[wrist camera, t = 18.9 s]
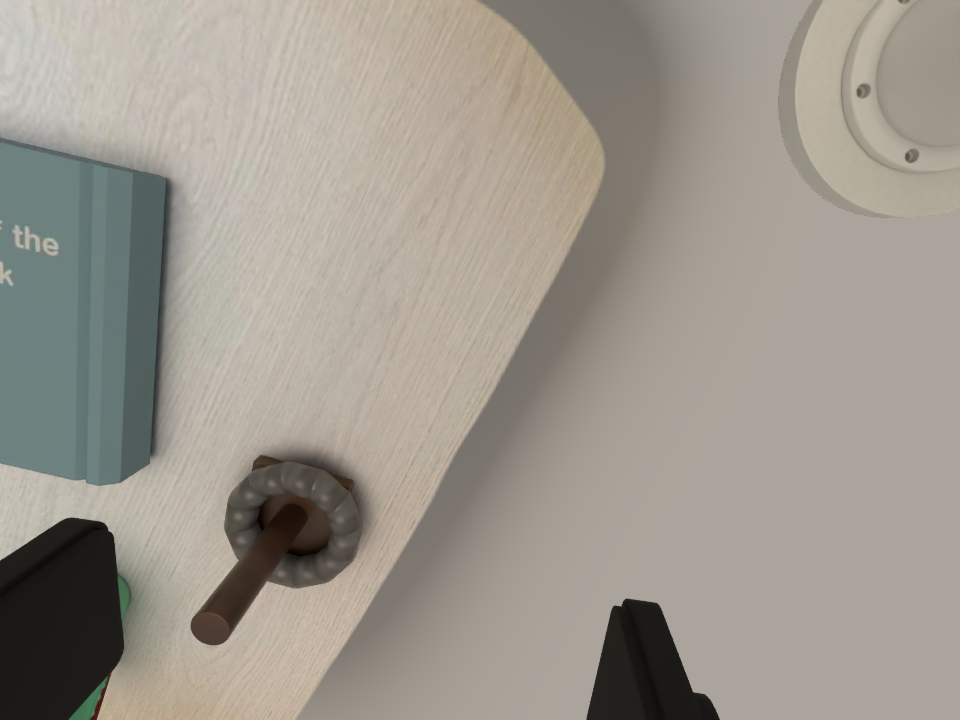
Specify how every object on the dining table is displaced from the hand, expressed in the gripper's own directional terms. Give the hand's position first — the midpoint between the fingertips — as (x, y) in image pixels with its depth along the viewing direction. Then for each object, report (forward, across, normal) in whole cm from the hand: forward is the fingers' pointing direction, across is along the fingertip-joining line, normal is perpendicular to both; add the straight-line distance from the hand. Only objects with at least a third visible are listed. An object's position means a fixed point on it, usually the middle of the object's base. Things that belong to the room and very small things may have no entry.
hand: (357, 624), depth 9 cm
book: (+29, +32, +3) cm, 43 cm away
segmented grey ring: (+27, +12, +18) cm, 34 cm away
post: (+29, +13, +18) cm, 36 cm away
